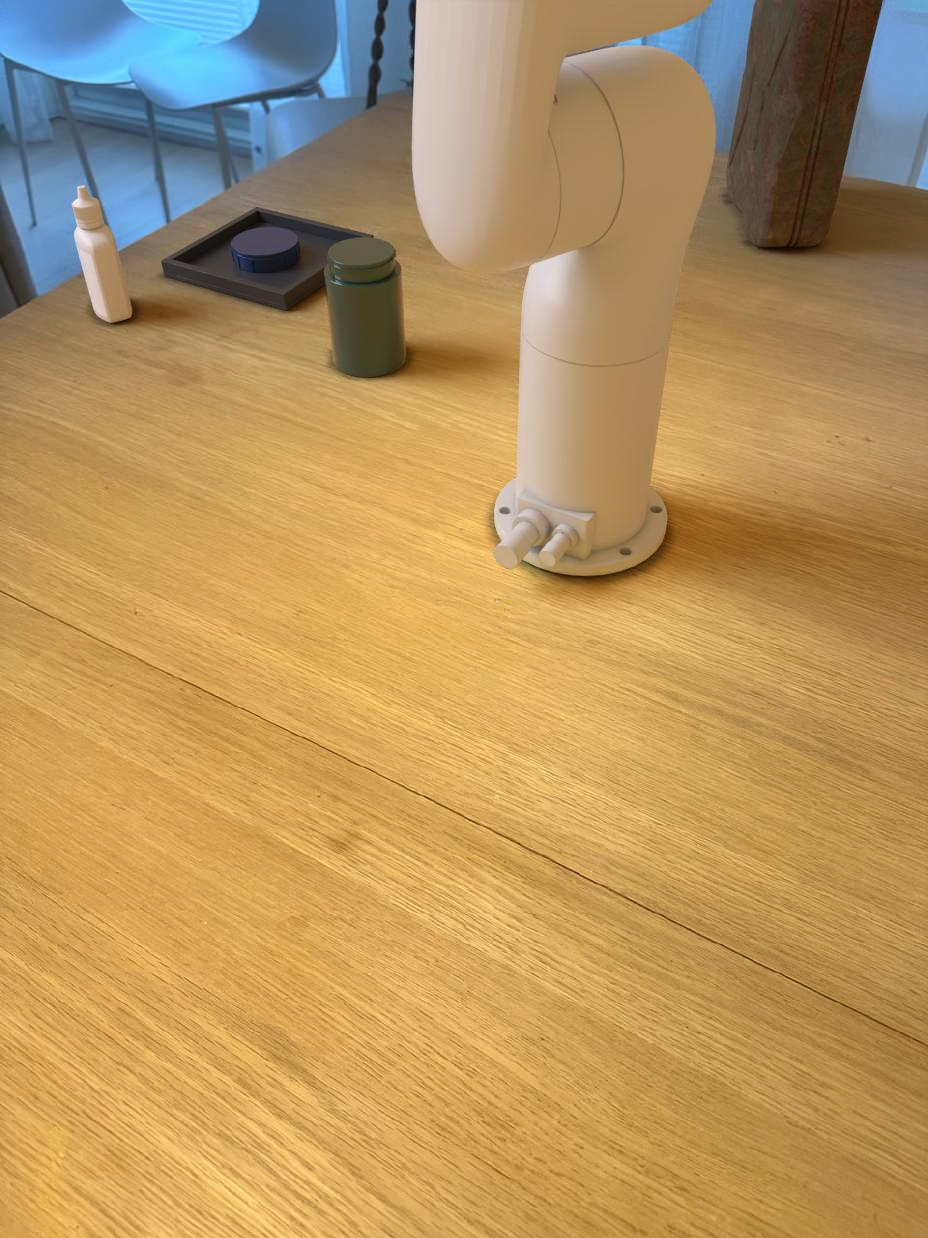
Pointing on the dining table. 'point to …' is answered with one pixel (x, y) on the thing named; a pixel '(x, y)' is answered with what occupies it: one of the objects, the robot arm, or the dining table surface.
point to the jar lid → (265, 249)
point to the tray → (280, 289)
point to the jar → (365, 307)
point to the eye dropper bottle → (100, 260)
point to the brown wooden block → (797, 115)
